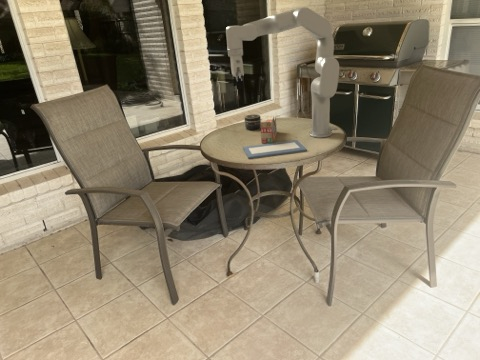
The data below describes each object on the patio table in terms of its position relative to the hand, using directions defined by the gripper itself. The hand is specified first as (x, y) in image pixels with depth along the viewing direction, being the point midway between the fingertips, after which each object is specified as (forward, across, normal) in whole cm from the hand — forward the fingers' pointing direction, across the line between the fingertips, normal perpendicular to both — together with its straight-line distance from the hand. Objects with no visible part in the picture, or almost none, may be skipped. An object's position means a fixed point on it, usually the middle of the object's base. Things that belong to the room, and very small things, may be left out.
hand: (238, 87), depth 191 cm
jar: (+31, +29, -12) cm, 44 cm away
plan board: (+31, -15, -14) cm, 37 cm away
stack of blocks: (+32, +7, -17) cm, 36 cm away
